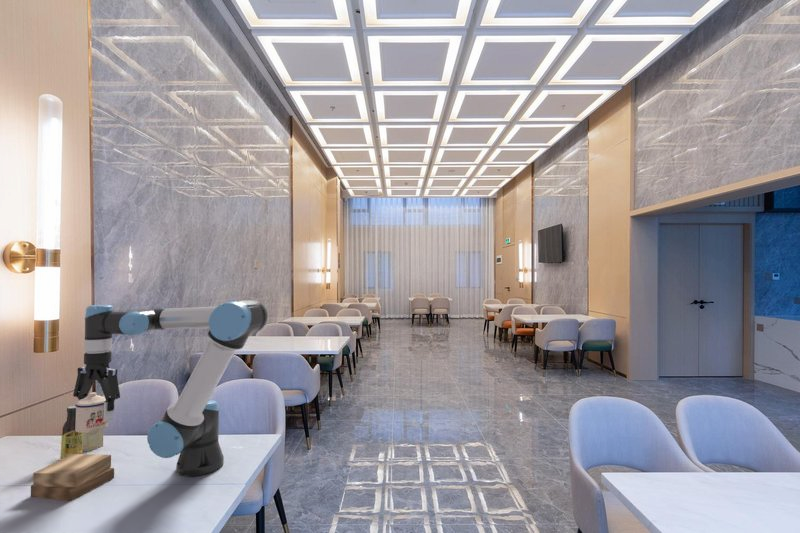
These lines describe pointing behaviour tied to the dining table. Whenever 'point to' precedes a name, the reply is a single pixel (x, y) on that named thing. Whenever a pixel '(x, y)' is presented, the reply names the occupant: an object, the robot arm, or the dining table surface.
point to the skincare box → (92, 440)
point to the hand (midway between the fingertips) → (95, 419)
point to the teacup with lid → (90, 414)
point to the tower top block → (72, 470)
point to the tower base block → (72, 488)
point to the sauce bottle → (71, 435)
